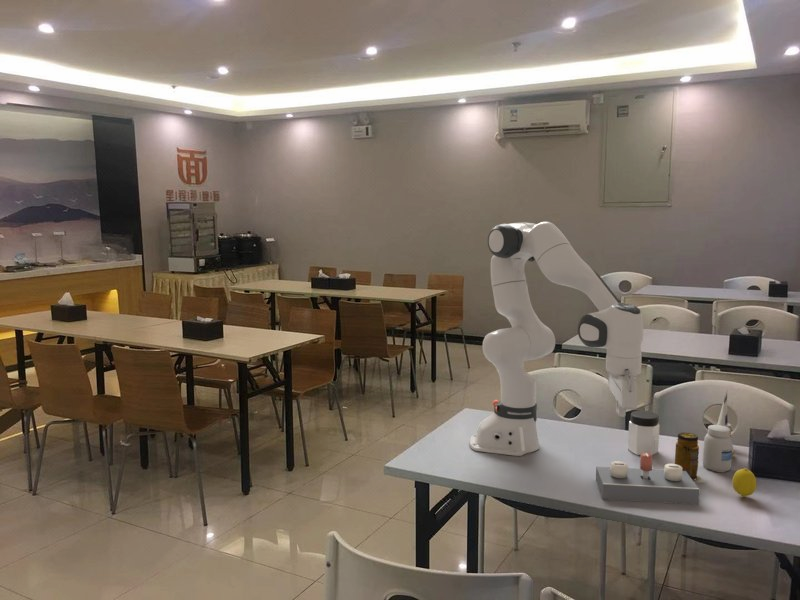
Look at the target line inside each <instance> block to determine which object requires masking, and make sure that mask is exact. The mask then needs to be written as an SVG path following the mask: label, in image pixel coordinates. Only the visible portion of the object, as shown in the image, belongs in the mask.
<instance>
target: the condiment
mask: <svg viewBox="0 0 800 600" xmlns="http://www.w3.org/2000/svg"><path fill="white" fill-rule="evenodd" d="M698 441H699V437H698V436H697V435H696V434H695V433H691V432H687V431H686V432H679V433H678V434H677V441H676V443H675V454H674V464H677V465H679V466H681V467H682V471H686V472H687V473H688V475H689V476H690V477H691V479H692V480H693V482H694V483H695V484H696V483H706V481H705V479H703V478H702V476H700V475H699V474H698V470H699V469H698V468H699V454H700V452H699V451H700V446H699V444H698V443H699V442H698Z"/></svg>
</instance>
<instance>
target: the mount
mask: <svg viewBox="0 0 800 600" xmlns="http://www.w3.org/2000/svg"><path fill="white" fill-rule="evenodd" d="M610 467H611V466H595V482H596V485H597V487H598V490H599V493H600V495H601V498H602V500H612V501H613V500H614V501H632V502H648V503H651V502H652V503H662V502H663V503H664V504H665V502H666V503H668V504H682V505H685V504H686V505H699V502H700V488H699V487H698V486H697V484H696V483H695V482H693V480H692V479H691V477H690V476H689V475H688V473H687V472H686V471H682V480H680V481H670V480H668V479H666V478H665V477H664V469H655V468H654V469H653V468H652V471H649V475H648V480H645V479H643V470H641V469H640V468H633V467H632V468H630V467H628V472H627V477H626V478H616V477H613V476H611V475H610Z"/></svg>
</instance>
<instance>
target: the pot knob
mask: <svg viewBox="0 0 800 600" xmlns="http://www.w3.org/2000/svg"><path fill="white" fill-rule="evenodd" d="M653 456H654V455H652V454H650V453H641V455H640V460H639V469H641V470H643V479H645V480H648V475H649V471H652V469H653V459H654V457H653Z"/></svg>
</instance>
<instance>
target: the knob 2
mask: <svg viewBox="0 0 800 600" xmlns="http://www.w3.org/2000/svg"><path fill="white" fill-rule="evenodd" d="M663 470H664V477H665V478H666V479H668V480H670V481H680V480H682V467H681V466H679V465H677V464H675V463H666V464H665V465H664V468H663Z"/></svg>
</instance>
